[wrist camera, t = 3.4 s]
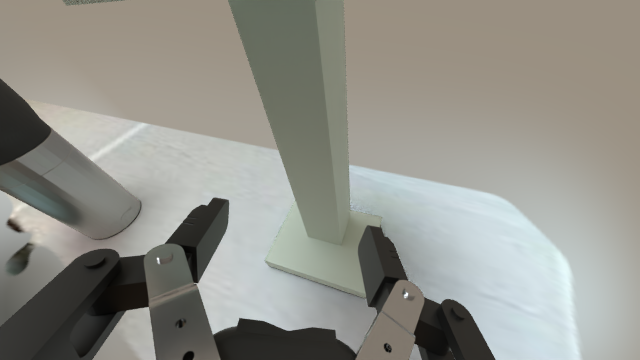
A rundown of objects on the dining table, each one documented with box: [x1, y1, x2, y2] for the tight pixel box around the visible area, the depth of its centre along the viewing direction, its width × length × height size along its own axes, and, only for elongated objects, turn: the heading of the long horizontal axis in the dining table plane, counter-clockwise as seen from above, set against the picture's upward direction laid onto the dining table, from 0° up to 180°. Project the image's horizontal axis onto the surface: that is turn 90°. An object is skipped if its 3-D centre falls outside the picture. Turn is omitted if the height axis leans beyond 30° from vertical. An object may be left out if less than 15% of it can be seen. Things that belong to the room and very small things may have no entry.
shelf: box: [63, 0, 382, 299], centre depth 22 cm, size 14×11×32 cm
